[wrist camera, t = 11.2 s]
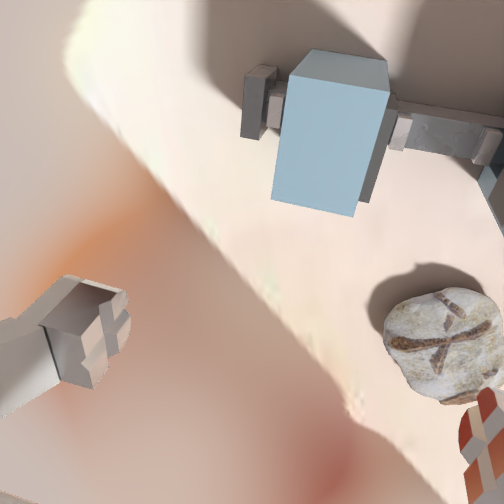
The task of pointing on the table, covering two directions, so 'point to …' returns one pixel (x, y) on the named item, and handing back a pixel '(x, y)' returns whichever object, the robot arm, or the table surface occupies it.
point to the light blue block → (333, 131)
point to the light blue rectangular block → (494, 191)
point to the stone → (447, 344)
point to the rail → (404, 129)
